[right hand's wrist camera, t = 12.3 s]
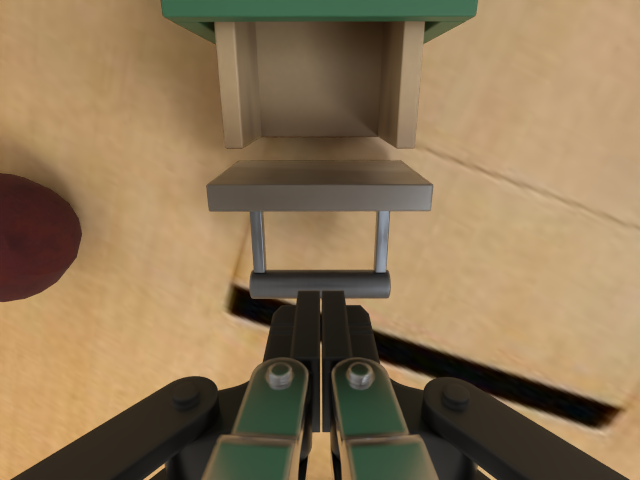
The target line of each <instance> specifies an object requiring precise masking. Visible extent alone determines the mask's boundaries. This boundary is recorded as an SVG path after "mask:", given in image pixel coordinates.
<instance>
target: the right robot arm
mask: <svg viewBox="0 0 640 480" xmlns="http://www.w3.org/2000/svg"><path fill="white" fill-rule="evenodd" d="M312 432H320V290H298V295H297V303H296V305H281V307H280V308H279V309H278V310H277V311H276V312H275V313H274V314H273V317H272V322H271V327H270V331H269V336H268V340H267V345H266V350H265V354H264V359H263V363H261V364H260V365H258V366H257V367H256V368H255V369H254V371H253V373H252V375H251V378H250V380H249V381H248V382H246V383H244V384H241V385H239V386H236V387H232V388H228V389H223V390H219V391H218V389H217V386H216V385H215V383H214V382H213V381H212V380H210V379H208V378H205V377H200V376H192V377H185V378H181V379H178V380H176V381H173V382H172V383H170V384H168V385H166V386H165V387H163V388H161V389H160V390H158V391H156V392H155V393H153V394H151V395H150V396H148V397H146V398H145V399H143V400H141V401H140V402H138V403H136V404H135V405H133V406H132V407H130V408H128V409H127V410H125V411H123V412H122V413H120V414H118V415H117V416H115V417H113V418H112V419H110V420H108V421H107V422H105V423H103V424H102V425H100V426H98V427H97V428H95V429H93V430H92V431H90V432H89V433H87V434H85V435H84V436H82V437H80V438H79V439H77V440H75V441H74V442H72V443H70V444H69V445H67V446H65V447H64V448H62V449H60V450H59V451H57V452H55V453H54V454H52V455H50V456H49V457H47V458H46V459H44V460H42V461H41V462H39V463H37V464H36V465H34V466H32V467H31V468H29V469H27V470H26V471H24V472H22V473H21V474H19V475H17V476H16V477H14V478H12V479H11V480H143V479H144V478H146V477H147V476H148V475H150V474H151V473H152V472H154V471H155V470H156V469H157V468H159V467H160V466H161V465H163V464H164V463H165V468H164V469H162V470H161V471H160V472H158V473H157V474H156V475H155V476H153V477H152V478H151V479H149V480H307V479H308V470H309V459H310V456H309V453H310V451H311V448H312ZM322 432H330V440H331V456H330V459H331V470H332V479H333V480H491V479H489V478H488V477H487V476H485V475H484V474H483V473H482V472H480V471H479V470H478V469H477V467H478V465H479V466H480V467H481V468H483V469H484V470H485V471H486V472H488V473H489V474H490V475H492V476H493V477H494V478H496V479H497V480H629V479H628V478H626V477H624V476H623V475H621V474H619V473H618V472H616V471H614V470H613V469H611V468H609V467H608V466H606V465H604V464H603V463H601V462H599V461H598V460H596V459H595V458H593V457H591V456H590V455H588V454H586V453H585V452H583V451H581V450H580V449H578V448H576V447H575V446H573V445H571V444H570V443H568V442H566V441H565V440H563V439H561V438H560V437H558V436H556V435H555V434H553V433H551V432H550V431H548V430H547V429H545V428H543V427H542V426H540V425H538V424H537V423H535V422H533V421H532V420H530V419H528V418H527V417H525V416H523V415H522V414H520V413H518V412H517V411H515V410H513V409H512V408H510V407H508V406H507V405H505V404H504V403H502V402H500V401H499V400H497V399H495V398H494V397H492V396H490V395H489V394H487V393H485V392H484V391H482V390H480V389H479V388H477V387H475V386H474V385H472V384H470V383H468V382H466V381H464V380H461V379H457V378H452V377H441V378H436V379H433V380H431V381H430V382H428V383H427V385H426V386H425V388H424V390H420V389H416V388H412V387H408V386H404V385H402V384H399V383H397V382H395V381H393V380H392V379H391V378H389V375H388V373H387V371H386V369H385V368H384V367H383V366H382V365H380V361H379V357H378V352H377V348H376V344H375V339H374V335H373V330H372V326H371V322H370V317H369V314H368V313H367V312H366V311H365V310H364V309H363V308H362V306H361V305H346V303H345V295H344V290H322Z"/></svg>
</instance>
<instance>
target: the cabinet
mask: <svg viewBox="0 0 640 480" xmlns="http://www.w3.org/2000/svg"><path fill="white" fill-rule="evenodd" d="M477 3H478V0H161V6H162V14H163V16H164V17H165V18H167V19H169V20H171V21H173V22H174V23H176V24H178V25H180V26H182V27H184V28H186V29H187V30H189V31H191V32H193V33H195V34H197V35H199V36H201V37H203V38H204V39H206V40H208V41H210V42H212V43H214V44H216V39H215V27H214V22H335V21H425V28H424V40H423V44H424V43H426V42H428V41H430V40H432V39H434V38H436V37H437V36H439V35H441V34H443V33H445V32H447V31H449V30H450V29H452V28H454V27H456V26H458V25H460V24H462V23H464V22H465V21H467V20H469V19H471V18H472V17H474V16H475V15H476V11H477Z"/></svg>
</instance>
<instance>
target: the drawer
mask: <svg viewBox="0 0 640 480" xmlns="http://www.w3.org/2000/svg"><path fill="white" fill-rule="evenodd" d="M214 27H215V39H216V50H217V62H218V74H219V85H220V97H221V109H222V120H223V132H224V143H225V148H227V149H242V148H244V147H246V146H247V145H249V144H250V143H252V142H253V141H255V140H257V139H258V138H260V137H380V138H381V139H383V140H384V141H386V142H388V143H389V144H391V145H392V146H394V147H395V148H414V147H415V138H416V126H417V114H418V102H419V89H420V77H421V65H422V53H423V40H424V28H425V21H335V22H214ZM206 187H207V197H208V206H209V211H250V221H251V236H252V251H253V265H254V270H252V272H251V275H250V295H251V298H253V299H286V298H297V295H298V290H320V298H322V290H344V295H345V298H389V295H390V287H391V284H390V274H389V271H388V270H386V266H387V250H388V234H389V218H390V211H430V210H431V203H432V193H433V184H431V183H430V182H429V181H427V180H426V179H425V178H424V177H422V176H421V175H420V174H418V173H417V172H416V171H414V170H413V169H412V168H410V167H409V166H408V165H406V164H405V163H404V162H402V161H238V162H237V163H235V164H234V165H233V166H231V167H230V168H229V169H227V170H226V171H225V172H223V173H222V174H221V175H219V176H218V177H217V178H215V179H214V180H213V181H211V182H210V183H209V184H207V186H206ZM263 211H377V212H376V232H375V252H374V270H266V252H265V234H264V216H263Z"/></svg>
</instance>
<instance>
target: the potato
mask: <svg viewBox="0 0 640 480" xmlns="http://www.w3.org/2000/svg"><path fill="white" fill-rule="evenodd" d="M81 236H82V232H81V227H80V222H79V218H78V217H77V215H76V214H75V212H74V211H73V209H72V207H71V206H70V204H68V203H67V202H66V201H65V200H64V199H62V198H61V197H60V196H59V195H58V194H56V193H55V192H53V191H52V190H50V189H48V188H46V187H44V186H42V185H39V184H37V183H35V182H33V181H30V180H28V179H26V178H23V177H20V176H16V175H12V174H2V173H0V302H7V301H13V300H20V299H25V298H28V297H30V296H33V295H35V294H38V293H40V292H42V291H44V290H45V289H47V288H48V287H50V286H51V285H53V284H54V283H56V282H57V281H58V280H59V279H60V277H61V276H62V275H63V274H64V272H65V271H66V270H67V269H68V268H69V266H70V265H71V264H72V262H73V261H74V260H75V259H76V257H77V253H78V249H79V245H80V240H81Z"/></svg>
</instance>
